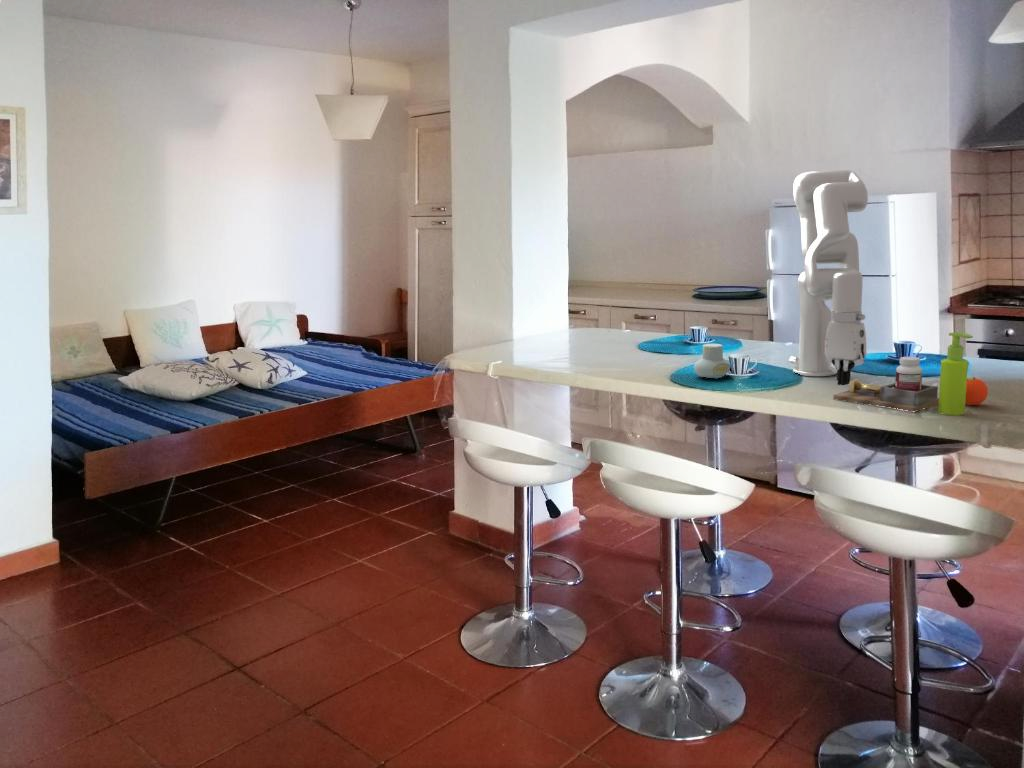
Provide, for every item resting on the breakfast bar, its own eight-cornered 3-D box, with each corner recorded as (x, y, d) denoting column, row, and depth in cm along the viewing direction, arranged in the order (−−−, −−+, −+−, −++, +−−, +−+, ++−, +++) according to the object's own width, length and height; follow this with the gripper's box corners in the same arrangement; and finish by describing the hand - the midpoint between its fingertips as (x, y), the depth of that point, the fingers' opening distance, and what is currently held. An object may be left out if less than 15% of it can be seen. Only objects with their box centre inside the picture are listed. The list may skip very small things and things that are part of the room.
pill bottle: (899, 396, 236) (901, 355, 234) (924, 399, 232) (926, 357, 230) (890, 400, 232) (892, 358, 229) (915, 404, 228) (918, 361, 225)
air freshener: (707, 382, 268) (707, 348, 266) (689, 377, 275) (689, 345, 273) (735, 377, 273) (736, 344, 271) (717, 373, 280) (717, 341, 278)
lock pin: (849, 391, 243) (849, 380, 242) (855, 389, 245) (855, 378, 244) (881, 396, 236) (882, 385, 235) (887, 394, 238) (887, 383, 237)
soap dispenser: (956, 417, 218) (961, 335, 214) (932, 411, 224) (937, 332, 220) (973, 414, 220) (979, 333, 216) (949, 408, 227) (954, 330, 222)
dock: (833, 399, 241) (834, 382, 240) (861, 390, 249) (862, 374, 248) (913, 412, 224) (914, 394, 223) (940, 403, 233) (941, 385, 232)
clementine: (953, 407, 228) (955, 379, 227) (950, 401, 234) (952, 374, 233) (988, 408, 225) (990, 380, 224) (985, 402, 232) (987, 375, 230)
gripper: (879, 318, 238) (876, 386, 242) (829, 313, 250) (826, 378, 253) (864, 321, 234) (861, 390, 237) (813, 316, 245) (811, 382, 249)
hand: (843, 384), depth 245 cm, fingers closed
